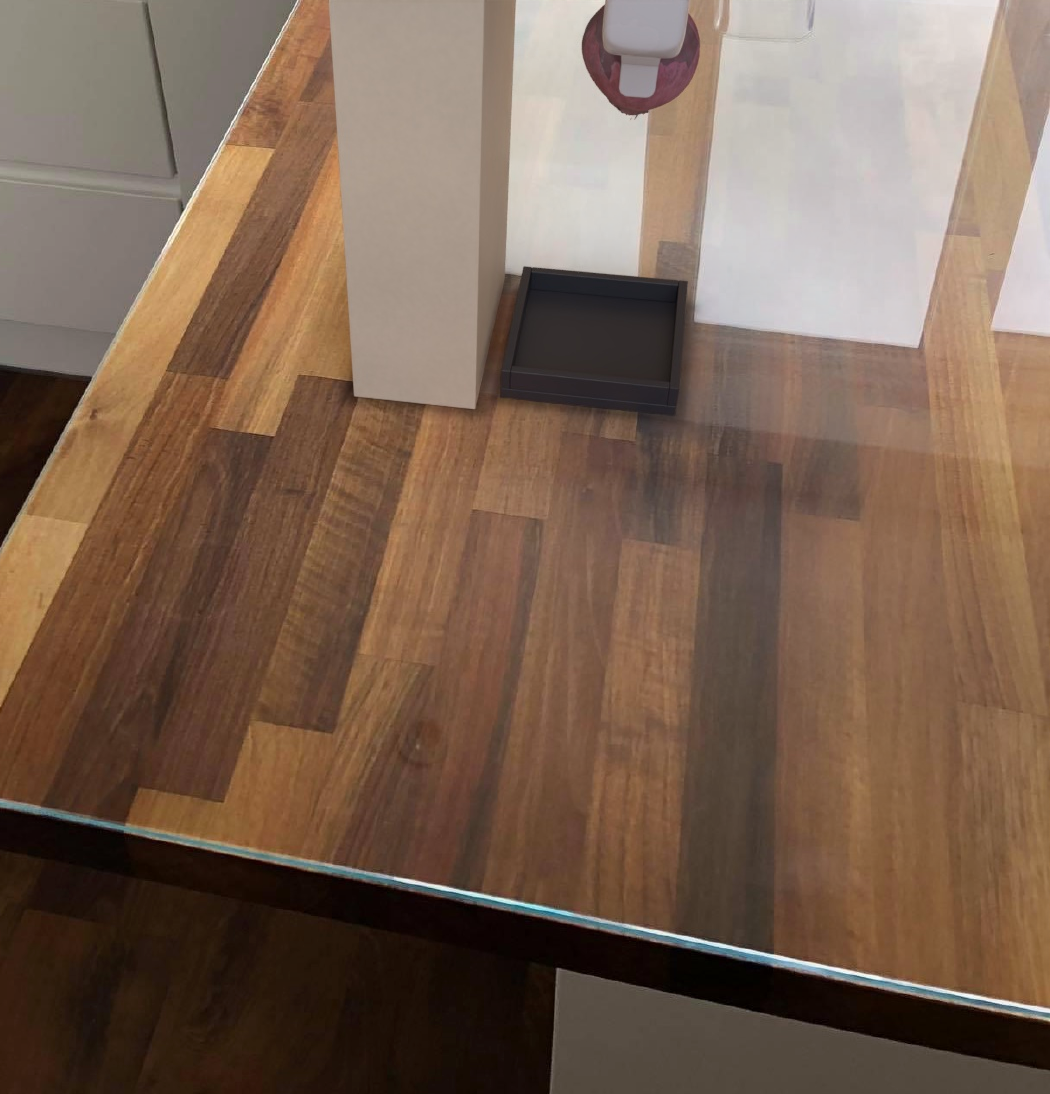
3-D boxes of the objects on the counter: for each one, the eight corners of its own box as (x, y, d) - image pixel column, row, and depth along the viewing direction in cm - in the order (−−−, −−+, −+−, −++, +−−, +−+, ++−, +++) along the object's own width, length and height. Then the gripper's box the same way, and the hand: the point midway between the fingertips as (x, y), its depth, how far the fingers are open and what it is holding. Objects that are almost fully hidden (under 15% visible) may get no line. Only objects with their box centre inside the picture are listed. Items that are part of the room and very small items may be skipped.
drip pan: (683, 307, 95) (688, 280, 93) (674, 416, 87) (679, 388, 86) (521, 292, 97) (523, 265, 95) (499, 397, 89) (501, 370, 88)
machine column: (512, 275, 98) (532, -172, 76) (481, 415, 88) (494, -51, 66) (388, 263, 99) (372, -178, 77) (344, 400, 89) (311, -61, 67)
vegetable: (618, 75, 77) (638, -108, 70) (713, 111, 74) (744, -75, 67) (553, 119, 74) (567, -66, 67) (649, 159, 71) (675, -30, 64)
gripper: (746, -142, 54) (695, 166, 64) (752, -310, 67) (709, -33, 78) (585, -150, 55) (560, 155, 65) (622, -315, 68) (597, -40, 79)
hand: (641, 51), depth 72 cm, fingers closed on vegetable, 6 cm apart
